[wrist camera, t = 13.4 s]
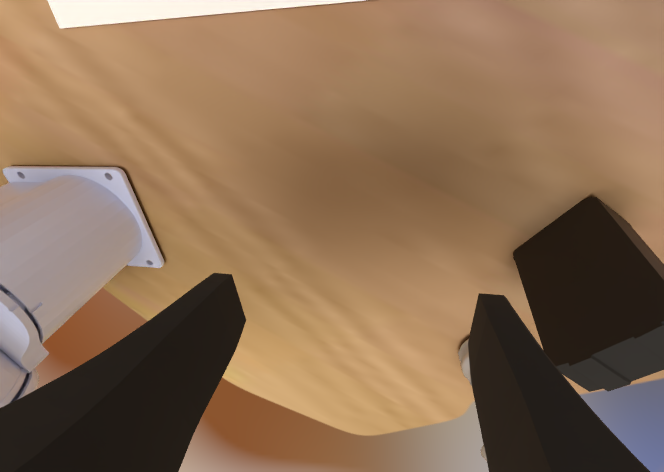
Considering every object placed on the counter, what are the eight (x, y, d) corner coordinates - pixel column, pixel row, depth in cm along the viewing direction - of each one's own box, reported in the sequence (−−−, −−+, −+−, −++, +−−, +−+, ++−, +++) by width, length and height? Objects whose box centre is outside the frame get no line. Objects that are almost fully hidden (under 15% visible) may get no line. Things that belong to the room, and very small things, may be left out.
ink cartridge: (539, 271, 20) (591, 399, 14) (510, 251, 20) (551, 374, 14) (624, 217, 18) (737, 348, 11) (592, 192, 17) (692, 314, 11)
